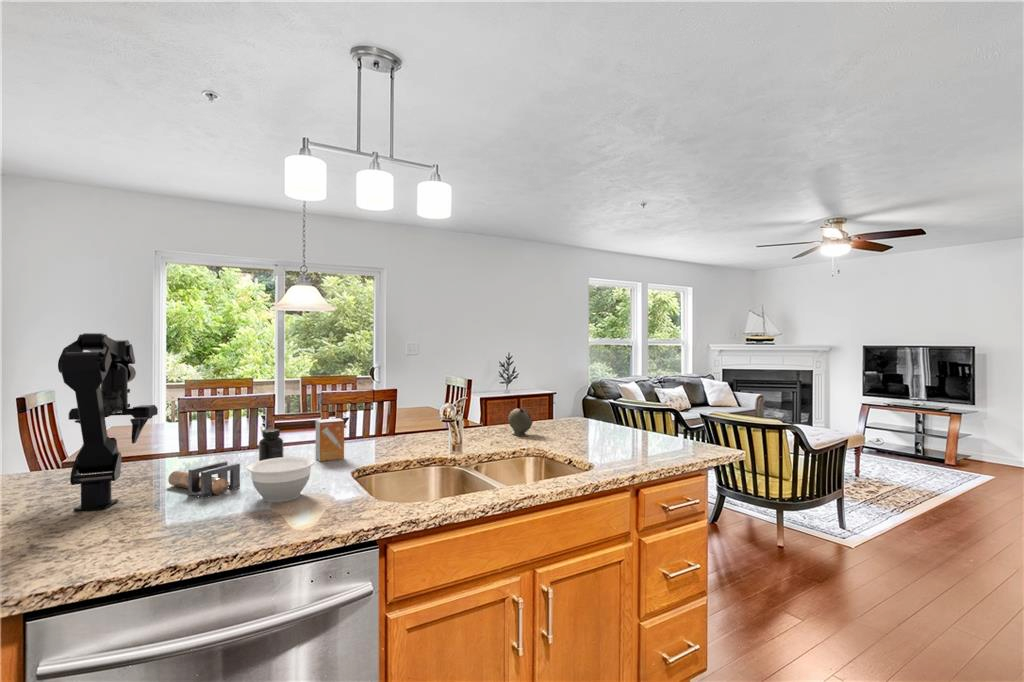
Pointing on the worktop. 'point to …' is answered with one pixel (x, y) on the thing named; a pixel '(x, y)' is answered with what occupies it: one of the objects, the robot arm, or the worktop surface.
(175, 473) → the brown rounded cylinder
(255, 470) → the bowl
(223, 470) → the collar bracket
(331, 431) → the small box
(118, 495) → the worktop surface
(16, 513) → the worktop surface
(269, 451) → the supplement bottle
